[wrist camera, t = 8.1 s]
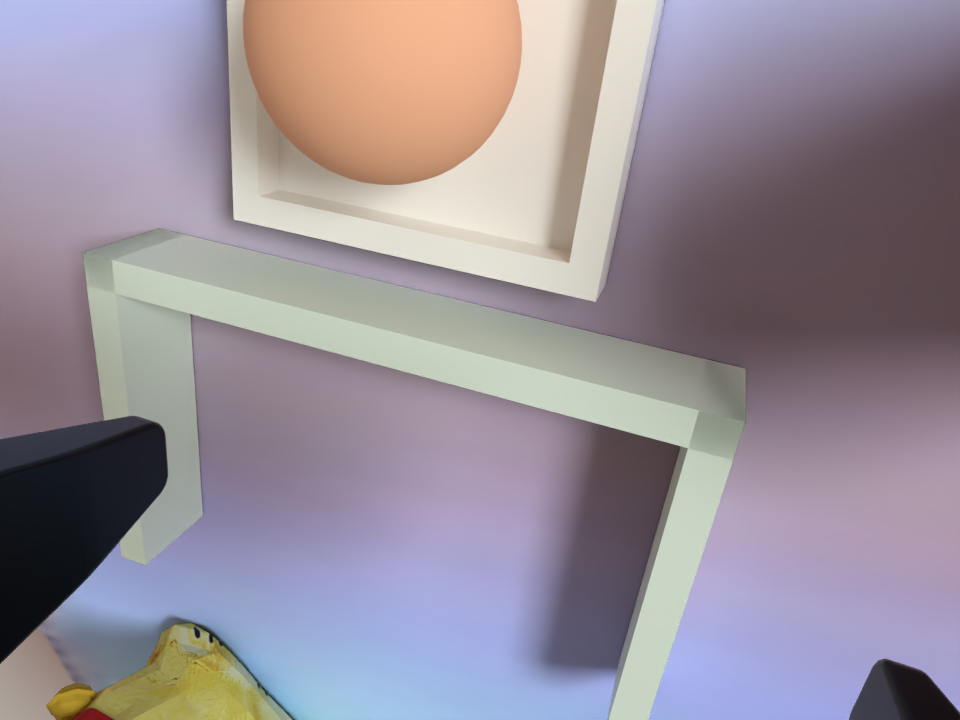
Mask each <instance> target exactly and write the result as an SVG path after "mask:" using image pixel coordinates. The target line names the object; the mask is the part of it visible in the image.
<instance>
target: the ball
mask: <svg viewBox="0 0 960 720" xmlns="http://www.w3.org/2000/svg"><path fill="white" fill-rule="evenodd" d="M243 38H244V48H245V54H246V60H247V64H248V68H249V71H250V75H251V78H252V81H253V83H254V86H255V88H256V91H257V93H258V96H259V98H260V100H261V102H262V104H263V106H264V108H265V109H266V111H267V113H268V114H269V116H270V117H271V119H272V120H273V122H274V123H275V125H276V126H277V127H278V129H279V130H280V131H281V132H282V133H283V135H284V136H285V137H286V138H287V139H288V140H289V141H290V142H291V143H292V144H293V145H294V146H295V147H296V148H297V149H299V150H300V151H301V152H302V153H303V154H305V155H306V156H307V157H309V158H310V159H311V160H313V161H314V162H315V163H317V164H319V165H321V166H322V167H324V168H326V169H327V170H330V171H332V172H334V173H337V174H339V175H341V176H344V177H346V178H349V179H352V180H356V181H360V182H363V183H371V184H378V185H403V184H409V183H415V182H420V181H424V180H427V179H430V178H433V177H436V176H439V175H441V174H443V173H445V172H447V171H449V170H451V169H453V168H454V167H456V166H457V165H459V164H460V163H461V162H463V161H464V160H466V159H467V158H469V157H470V156H471V155H472V154H474V153H475V152H476V151H477V150H478V149H479V148H480V147H481V146H482V145H483V144H484V143H485V142H486V140H487V139H488V138H489V137H490V136H491V134H492V133H493V132H494V130H495V129H496V127H497V125H498V124H499V122H500V121H501V119H502V118H503V116H504V114H505V112H506V110H507V108H508V105H509V103H510V101H511V99H512V96H513V93H514V90H515V87H516V84H517V80H518V75H519V70H520V65H521V54H522V27H521V20H520V13H519V7H518V3H517V0H245V4H244V12H243Z"/></svg>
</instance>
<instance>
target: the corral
mask: <svg viewBox="0 0 960 720" xmlns="http://www.w3.org/2000/svg"><path fill="white" fill-rule="evenodd" d="M82 253H83V261H84V269H85V276H86V284H87V292H88V300H89V307H90V315H91V323H92V331H93V338H94V346H95V354H96V362H97V369H98V377H99V385H100V392H101V400H102V408H103V416H104V421H105V420H110V419H116V418H121V417H127V416H139V417H142V418H145V419H148V420H151V421H154V422H157V423H159V424H160V425H162V427H163V429H164V431H165V434H166V447H167V461H168V479H167V483H166V485H165V487H164V489H163V491H162V492H161V494H160V495H159V496H158V497H157V498H156V500H155V501H154V502H153V503H152V504H151V505H150V507H149V508H148V509H147V510H146V511H145V512H144V514H143V515H142V516H141V517H140V518H139V519H138V521H137V522H136V523H135V524H134V525H133V526H132V528H131V529H130V530H129V531H128V532H127V533H126V535H125V536H124V537H123V538H122V539H121V540H120V547H121V555H122V557H124V558H127V559H130V560H132V561H135V562H138V563H140V564H143V565H147V564H148V563H149V562H150V561H151V560H153V559H154V558H155V557H156V556H157V555H158V554H159V553H161V552H162V551H163V550H164V549H165V548H166V547H167V546H169V545H170V544H171V543H172V542H173V541H174V540H176V539H177V538H178V537H179V536H180V535H181V534H182V533H184V532H185V531H186V530H187V529H188V528H189V527H191V526H192V525H193V524H194V523H195V522H196V521H197V520H199V519H200V518H201V517H202V516H203V508H202V492H201V476H200V461H199V445H198V429H197V413H196V397H195V381H194V366H193V350H192V334H191V318H190V314H192V315H196V316H200V317H204V318H207V319H211V320H215V321H218V322H222V323H226V324H229V325H233V326H237V327H241V328H244V329H248V330H252V331H255V332H259V333H263V334H267V335H270V336H274V337H278V338H281V339H285V340H289V341H292V342H296V343H300V344H304V345H307V346H311V347H315V348H318V349H322V350H326V351H330V352H333V353H337V354H341V355H344V356H348V357H352V358H355V359H359V360H363V361H367V362H370V363H374V364H378V365H381V366H385V367H389V368H393V369H396V370H400V371H404V372H407V373H411V374H415V375H418V376H422V377H426V378H430V379H433V380H437V381H441V382H444V383H448V384H452V385H456V386H459V387H463V388H467V389H470V390H474V391H478V392H481V393H485V394H489V395H493V396H496V397H500V398H504V399H507V400H511V401H515V402H519V403H522V404H526V405H530V406H533V407H537V408H541V409H544V410H548V411H552V412H556V413H559V414H563V415H567V416H570V417H574V418H578V419H582V420H585V421H589V422H593V423H596V424H600V425H604V426H607V427H611V428H615V429H619V430H622V431H626V432H630V433H633V434H637V435H641V436H645V437H648V438H652V439H656V440H659V441H663V442H667V443H670V444H674V445H678V446H681V447H680V450H679V454H678V457H677V461H676V464H675V468H674V471H673V475H672V478H671V482H670V485H669V489H668V492H667V496H666V499H665V503H664V506H663V510H662V513H661V517H660V520H659V524H658V527H657V531H656V534H655V538H654V541H653V545H652V548H651V552H650V555H649V559H648V562H647V565H646V569H645V572H644V576H643V579H642V583H641V586H640V590H639V593H638V597H637V600H636V604H635V607H634V611H633V614H632V618H631V621H630V625H629V628H628V632H627V635H626V639H625V642H624V646H623V649H622V653H621V656H620V660H619V664H618V669H617V674H616V679H615V684H614V688H613V693H612V698H611V703H610V708H609V713H608V718H607V720H648V718H649V715H650V712H651V709H652V706H653V703H654V700H655V697H656V694H657V691H658V688H659V685H660V682H661V678H662V675H663V672H664V669H665V666H666V663H667V660H668V657H669V654H670V651H671V648H672V645H673V642H674V639H675V636H676V633H677V630H678V627H679V624H680V621H681V618H682V614H683V611H684V608H685V605H686V602H687V599H688V596H689V593H690V590H691V587H692V584H693V581H694V578H695V575H696V572H697V569H698V566H699V563H700V560H701V557H702V554H703V550H704V547H705V544H706V541H707V538H708V535H709V532H710V529H711V526H712V523H713V520H714V517H715V514H716V511H717V508H718V505H719V502H720V499H721V496H722V493H723V490H724V487H725V483H726V480H727V477H728V474H729V471H730V468H731V465H732V462H733V459H734V456H735V453H736V450H737V447H738V444H739V441H740V438H741V435H742V432H743V429H744V426H745V423H746V369H745V368H741V367H737V366H732V365H728V364H724V363H720V362H716V361H711V360H707V359H703V358H699V357H695V356H690V355H686V354H682V353H678V352H674V351H670V350H665V349H661V348H657V347H653V346H649V345H644V344H640V343H636V342H632V341H628V340H623V339H619V338H615V337H611V336H607V335H603V334H598V333H594V332H590V331H586V330H582V329H577V328H573V327H569V326H565V325H561V324H556V323H552V322H548V321H544V320H540V319H536V318H531V317H527V316H523V315H519V314H515V313H510V312H506V311H502V310H498V309H494V308H489V307H485V306H481V305H477V304H473V303H468V302H464V301H460V300H456V299H452V298H448V297H443V296H439V295H435V294H431V293H427V292H422V291H418V290H414V289H410V288H406V287H401V286H397V285H393V284H389V283H385V282H381V281H376V280H372V279H368V278H364V277H360V276H355V275H351V274H347V273H343V272H339V271H334V270H330V269H326V268H322V267H318V266H314V265H309V264H305V263H301V262H297V261H293V260H288V259H284V258H280V257H276V256H272V255H267V254H263V253H259V252H255V251H251V250H247V249H242V248H238V247H234V246H230V245H226V244H221V243H217V242H213V241H209V240H205V239H200V238H196V237H192V236H188V235H184V234H180V233H175V232H171V231H167V230H163V229H155V230H152V231H149V232H146V233H143V234H140V235H136V236H133V237H130V238H127V239H124V240H120V241H117V242H114V243H111V244H108V245H104V246H101V247H98V248H95V249H92V250H89V251H85V252H82Z"/></svg>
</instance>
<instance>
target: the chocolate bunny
mask: <svg viewBox="0 0 960 720" xmlns="http://www.w3.org/2000/svg"><path fill="white" fill-rule="evenodd" d="M47 708H48V710H49V711H50V712H51V714H52V715H54V717H55V718H56V720H292V719H291V718H290V717H289V716H288V715H287V714H286V713H285V712H284V711H283V710H282V709H281V708H280V707H279V706H278V705H277V704H276V702H275V701H274V700H273V699H272V698H271V697H270V696H269V695H268V694H267V693H266V692H265V691H264V690H263V689H262V688H261V687H260V686H259V684H258V683H257V682H256V681H255V679H254V678H253V677H252V676H251V675H250V673H249V672H248V671H247V670H246V669H245V668H244V666H243V665H242V664H241V663H240V662H239V661H238V660H237V659H236V658H235V657H234V656H233V654H232V653H231V652H230V651H229V650H228V649H226V648H225V647H224V646H223V645H222V644H221V643H220V642H219V641H218V640H217V639H215V638H214V637H213V636H212V635H211V634H210V633H208V632H206V631H205V630H203V629H201V628H199V627H198V626H196V625H194V624H192V623H187V624H177V625H173V626H171V627H169V628H168V629H166V630H164V631H163V632H162V634H161V637H160V639H159V641H158V643H157V646H156V648H155V650H154V652H153V654H152V655H151V657H150V659H149V661H148V663H147V664H146V666H145V668H144V669H142V670H140V671H138V672H136V673H134V674H132V675H130V676H128V677H126V678H124V679H122V680H121V681H119V682H117V683H115V684H113V685H111V686H109V687H107V688H105V689H103V690H102V691H100V692H98V693H96V692H95V691H92V689H91V687H90V686H87V685H84V684H78V683H75V684H72V685H69V686H66V687H64V688H62V689H61V690H60V691H59V692H58V693H57V694H56V695H55V697H54V698H53V699H52V700H51V701H50V702H49V703H48V704H47Z"/></svg>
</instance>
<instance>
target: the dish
mask: <svg viewBox="0 0 960 720" xmlns="http://www.w3.org/2000/svg"><path fill="white" fill-rule="evenodd" d="M517 3H518V7H519V13H520V20H521V27H522V54H521V65H520V70H519V75H518V80H517V84H516V87H515V90H514V93H513V96H512V99H511V101H510V103H509V105H508V108H507V110H506V112H505V114H504V116H503V118H502V119H501V121H500V122H499V124H498V125H497V127H496V129H495V130H494V132H493V133H492V134H491V136H490V137H489V138H488V139H487V140H486V142H485V143H484V144H483V145H482V146H481V147H480V148H479V149H478V150H477V151H476V152H475V153H474V154H472V155H471V156H470V157H469V158H467V159H466V160H464V161H463V162H461V163H460V164H459V165H457V166H456V167H454V168H453V169H451V170H449V171H447V172H445V173H443V174H441V175H439V176H436V177H433V178H430V179H427V180H424V181H420V182H415V183H409V184H403V185H378V184H371V183H363V182H360V181H356V180H352V179H349V178H346V177H344V176H341V175H339V174H337V173H334V172H332V171H330V170H327V169H326V168H324V167H322V166H321V165H319V164H317V163H315V162H314V161H313V160H311V159H310V158H309V157H307V156H306V155H305V154H303V153H302V152H301V151H300V150H299V149H297V148H296V147H295V146H294V145H293V144H292V143H291V142H290V141H289V140H288V139H287V138H286V137H285V136H284V135H283V133H282V132H281V131H280V130H279V129H278V127H277V126H276V125H275V123H274V122H273V120H272V119H271V117H270V116H269V114H268V113H267V111H266V109H265V108H264V106H263V104H262V102H261V100H260V98H259V96H258V93H257V91H256V88H255V86H254V83H253V81H252V78H251V75H250V71H249V68H248V64H247V60H246V54H245V48H244V38H243V12H244V4H245V0H227V28H228V59H229V90H230V121H231V152H232V183H233V214H234V220H239V221H243V222H247V223H252V224H256V225H261V226H265V227H269V228H274V229H278V230H283V231H287V232H291V233H296V234H300V235H304V236H309V237H313V238H318V239H322V240H326V241H331V242H335V243H339V244H344V245H348V246H353V247H357V248H361V249H366V250H370V251H375V252H379V253H383V254H388V255H392V256H396V257H401V258H405V259H410V260H414V261H418V262H423V263H427V264H432V265H436V266H440V267H445V268H449V269H453V270H458V271H462V272H467V273H471V274H475V275H480V276H484V277H489V278H493V279H497V280H502V281H506V282H510V283H515V284H519V285H524V286H528V287H532V288H537V289H541V290H545V291H550V292H554V293H559V294H563V295H567V296H572V297H576V298H581V299H585V300H589V301H594V302H596V300H597V299H598V297H599V295H600V293H601V292H602V290H603V288H604V287H605V285H606V282H607V277H608V272H609V267H610V263H611V258H612V253H613V248H614V243H615V239H616V234H617V229H618V224H619V219H620V215H621V210H622V205H623V200H624V195H625V190H626V186H627V181H628V176H629V171H630V166H631V162H632V157H633V152H634V147H635V142H636V138H637V133H638V128H639V123H640V118H641V114H642V109H643V104H644V99H645V94H646V90H647V85H648V80H649V75H650V70H651V66H652V61H653V56H654V51H655V46H656V42H657V37H658V32H659V27H660V22H661V18H662V13H663V8H664V3H665V0H517Z"/></svg>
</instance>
